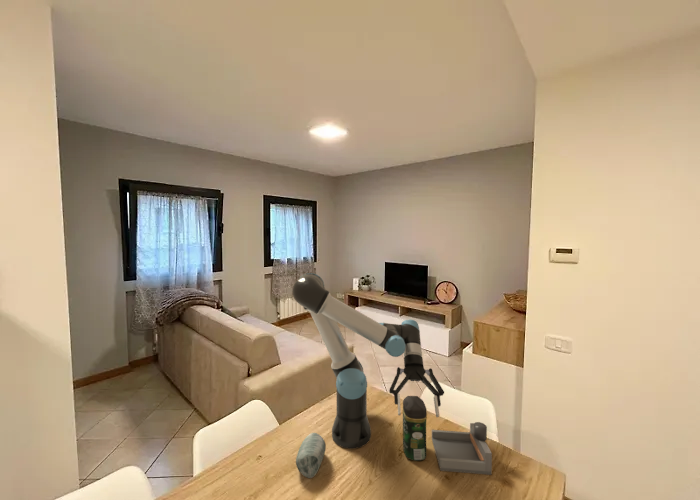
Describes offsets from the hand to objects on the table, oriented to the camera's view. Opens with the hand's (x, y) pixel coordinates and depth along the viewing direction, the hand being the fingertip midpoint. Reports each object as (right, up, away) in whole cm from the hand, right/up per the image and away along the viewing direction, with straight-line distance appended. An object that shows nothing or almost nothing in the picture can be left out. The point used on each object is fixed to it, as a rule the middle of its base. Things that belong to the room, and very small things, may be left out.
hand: (418, 415), depth 101 cm
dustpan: (+13, -12, -3) cm, 18 cm away
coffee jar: (-2, -12, -1) cm, 13 cm away
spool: (-38, -13, -7) cm, 40 cm away
